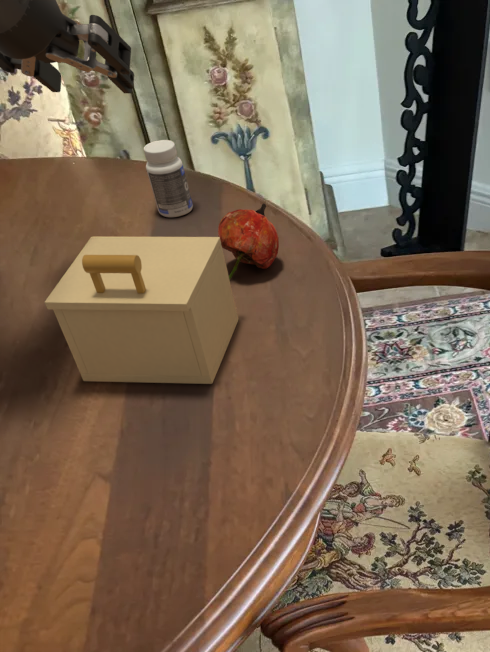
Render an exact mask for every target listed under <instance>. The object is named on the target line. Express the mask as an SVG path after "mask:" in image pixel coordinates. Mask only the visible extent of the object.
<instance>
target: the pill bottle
mask: <svg viewBox="0 0 490 652" xmlns="http://www.w3.org/2000/svg"><path fill="white" fill-rule="evenodd" d="M143 154H144V156H145V159H146V161H147V162H146V165H145V171H146V174H147V177H148V181H149V184H150V187H151V190H152V194H153V198H154V201H155V205H156V208H157V211H158V214H159V215H161V216H162V217H166V218H178V217H182V216H184V215H187V214H189V213H190V212H191V211H192V210H193V208H194V204H193V200H192V196H191V192H190V189H189V183H188V179H187V176H186V171H185V167H184V164H183V161H182V159H181V158H180V157H179V156H178V150H177V148H176V145H175V142H174V141H172V140H169V139H160V140H154V141H151V142H149V143H147V144H146V145H144V147H143Z"/></svg>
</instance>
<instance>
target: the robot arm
mask: <svg viewBox="0 0 490 652" xmlns="http://www.w3.org/2000/svg"><path fill="white" fill-rule="evenodd" d="M80 41H82V42H83V43H84V51H83V52H84V54H83V58H80V57H78V54H79V47H80ZM97 54H98V55H99V56H100V57H101V58H102V59H104V62H103V63H102V62H100V61H98V60H97ZM131 57H132V47H131V45H129V44H128V43H127V42H126V41H125V40H124V39H123V38H122V37H121V35H119V34H118V33H117V32H116V31H115V30H114V28H112V27H111V26H110V25H109V24H108V23H107V22H106V21H105V20H104V18H102V17H101V16H99V15H96V14H90V15H89V17H88V23H82V24H78V23H77V22H76V21H75V20H74V19H72V18H71V17H69V16H67V15H65V14H64V13H63V12H62V10H61V8H60V6H59V4H58V2H57V0H0V69H1V70H2V71H4V72H6V73H8V74H15V70H20V73H21V74H22V75H24V76H26V77H33V78H34V79H35V80H36V81H37V82H39V83H40V84H41V85H42V86H44V87H46V89H48V90H49V91H50V92H51V93H61V89H62V73H61V71H60V70H58V68H56V67H55V65H53V64H54V63H58V64H66V65H69V66H71V67H73V68H76V69H77V70H80V71H83V72H86V73H90V72H92V71H95V72H97V73H100V74H101V75H104V76H106V77H107V78H108V80H110V82H112V84H114V85H115V86H116V87H117V88H118V89H119V90H120V91H121V93H123V94H129V95H131V94H132V93H133V90H134V87H135V72H134V71H133V70H132V69H131Z"/></svg>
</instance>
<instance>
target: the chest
mask: <svg viewBox="0 0 490 652" xmlns="http://www.w3.org/2000/svg"><path fill="white" fill-rule="evenodd" d="M223 250H224V249H223V248H222V245H221V246H220V248H219V250H218V252H217V254H216V256H215V258H214V260H213V262H212V264H211V266H210V268H209V270H208V272H207V274H206V276H205V278H204V280H203V282H202V284H201V286H200V288H199V290H198V292H197V295H196V297H195V299H194V301H193V303H192V305H191V307H190V309H189V311H136V310H62V309H52V311H53V313H54V315H55V317H56V318H55V319H56V320H57V322H58V325H59V328H60V330H61V332H62V334H63V336H64V339H65V341H66V343H67V345H68V348H69V350H70V353H71V355H72V357H73V360H74V362H75V365H76V366H77V370H78V372H79V374H80V376H81V379H82V381H83V382H102V383H103V382H104V383H105V382H106V383H112V382H113V383H150V384H151V383H152V384H153V383H155V384H196V385H197V384H201V385H212V384H213V383H214V381H215V378H216V376H217V374H218V371H219V368H220V366H221V363H222V361H223V359H224V356H225V354H226V351H227V349H228V347H229V344H230V341H231V340H232V337H233V334H234V332H235V329H236V327H237V324H238V322H239V320H240V319H239V314H238V311H237V306H236V303H235V302H236V301H235V298H234V294H233V290H232V284H231V281H230V280H231V279H230V280H229V272H228V267H227V263H226V258H225V254H224V251H223Z"/></svg>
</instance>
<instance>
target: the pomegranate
mask: <svg viewBox="0 0 490 652" xmlns="http://www.w3.org/2000/svg"><path fill="white" fill-rule="evenodd" d="M266 208H267V204H266V203H265V202H264V203H262V204H261V206H260V207H259V208H258V209H257V210H253V209H241V208H239V209H235V210H233V211H229V212H227V213H226V214H225V215H224V216H223V217H222V218H221V219H220V221H219V223H218V226H217V227H218V229H217V237H220V240H221V245H222V249H223V250H226V251H228V252H230V253H232V255H233V257H234V258H235V259H236V261H235V263H234V266H233V267H232V269H231V272H230V273H229V274H228V276H229V280H231V279H232V278H233V275H234V273H236V271H237V270H238V266H239V263H240V262H241V263H243V264H248V265H255V266H256V267H257V268H258V269H262V270H267V269H268V268H270V267H271V265H273V263H274V261H275V260H276V258H277V257H278V254H279V248H280V243H279V240H280V239H279V235H278V231H277V229H276V227H275V226H274V224H273V223H272V222H271V221H270V220H269V219H268V217H267V216H266V215H265V211H266Z"/></svg>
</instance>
